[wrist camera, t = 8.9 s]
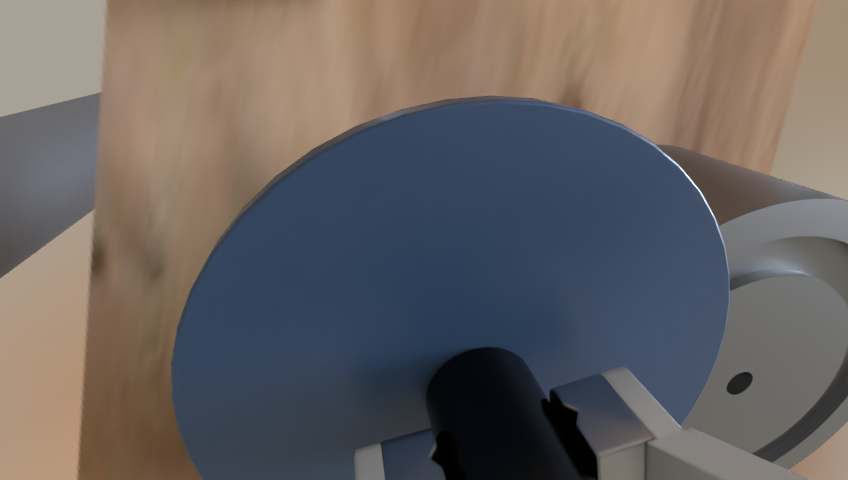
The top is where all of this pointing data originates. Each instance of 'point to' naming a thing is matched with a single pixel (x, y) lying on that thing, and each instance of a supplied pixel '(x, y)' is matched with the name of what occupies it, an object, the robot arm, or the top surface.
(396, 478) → the robot arm
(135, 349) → the top surface
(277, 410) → the tin lid
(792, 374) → the container
